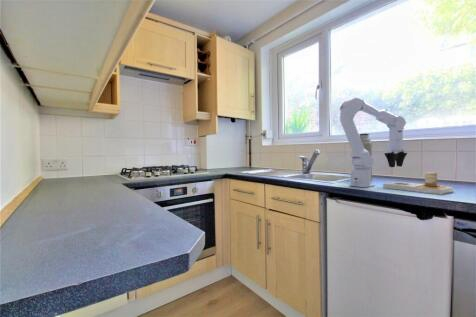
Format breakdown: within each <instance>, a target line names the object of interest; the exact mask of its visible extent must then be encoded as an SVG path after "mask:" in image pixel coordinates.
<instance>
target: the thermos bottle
mask: <svg viewBox="0 0 476 317" xmlns="http://www.w3.org/2000/svg"><path fill="white" fill-rule="evenodd" d="M369 135H370V134H369V133H359V136H360V139H361V141H362V144H363V146H364V149H366V150H367V151H368V152H369V154H370V155H371V156H372V154H373V152H372V150H373V149H372V148H373V143H372V142H371V138H370V136H369ZM372 157H373V156H372ZM372 171H373V166H372V167H371V180H372V178H373V176H372V174H373V172H372Z"/></svg>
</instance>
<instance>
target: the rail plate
mask: <svg viewBox="0 0 476 317" xmlns="http://www.w3.org/2000/svg"><path fill="white" fill-rule="evenodd" d="M382 186H383V188H384V189H390V190H397V191H398V190H400V191H408V192H417V193H423V194H424V193H425V194H431V195H432V194H434V195H440V196H441V195H446V194H449V193H453V192H454V187H453V186H447V185H438V184H437V187H428V186H425V183H416V182H415V183H414V182H404V181H403V182H402V181H392V182H385V183H384V182H383V183H382Z"/></svg>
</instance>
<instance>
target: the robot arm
mask: <svg viewBox="0 0 476 317" xmlns="http://www.w3.org/2000/svg"><path fill="white" fill-rule="evenodd" d="M339 111H340V115H339V121H340V123H341V126H342V129H343V131H344V134H345V136H346V138H347V141H348V144H349V146H350V148H351V151H352V153H351V154H350V156H351V164H352V165H353V168H354V169H353V170H352V171H350V183H349V186H351V187H358V188H369V187H374V186H375V184H371V167H372V168H373V166H374V164H375V159H374V157H373V156H371V155H370V154H369V152H368V151H367V150H366V149H364V146H363V144H362V141H361V139H360V133H359V132H358V129H357V127H356V124H355V122H354V118H355V116H356V115H357V114H358V112H363V113H366V114H368V115H370V116H373V117H375V120H376V121H378V122H381V124H385V125H386V126H387V128H388V130H389V132H388V134H389V136H388V140H389V141H388V142H389V143H388V146H389V147H388V148H386V150H385V152H384V156H385V158H386V160H387V163H388V167H389V168H395V167H403V164H404V160H405V158H406V156H407V155H408V152H406V148H404V147H403V146H404V137H403V136H404V132H403V131H404V129H405V126H406V123H407V121H406V119H405V117H403V116H401V115H398V116H397V115H396V114H395V113H392V112H390V111H389V110H387V109H380V110H379V109H378V108H377V107H375V106H372V105H371V104H370V103H367V102H366V101H365V100H364V99H361V98H360V97H354V98H352V99H349V100H346V101H344V102H342V104H341V105H340V107H339Z"/></svg>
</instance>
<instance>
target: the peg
mask: <svg viewBox="0 0 476 317" xmlns="http://www.w3.org/2000/svg"><path fill="white" fill-rule="evenodd" d="M424 184H425V186H428V187H437V185H438V173H437V172H431V171H430V172H428V171H427V172H424Z"/></svg>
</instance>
